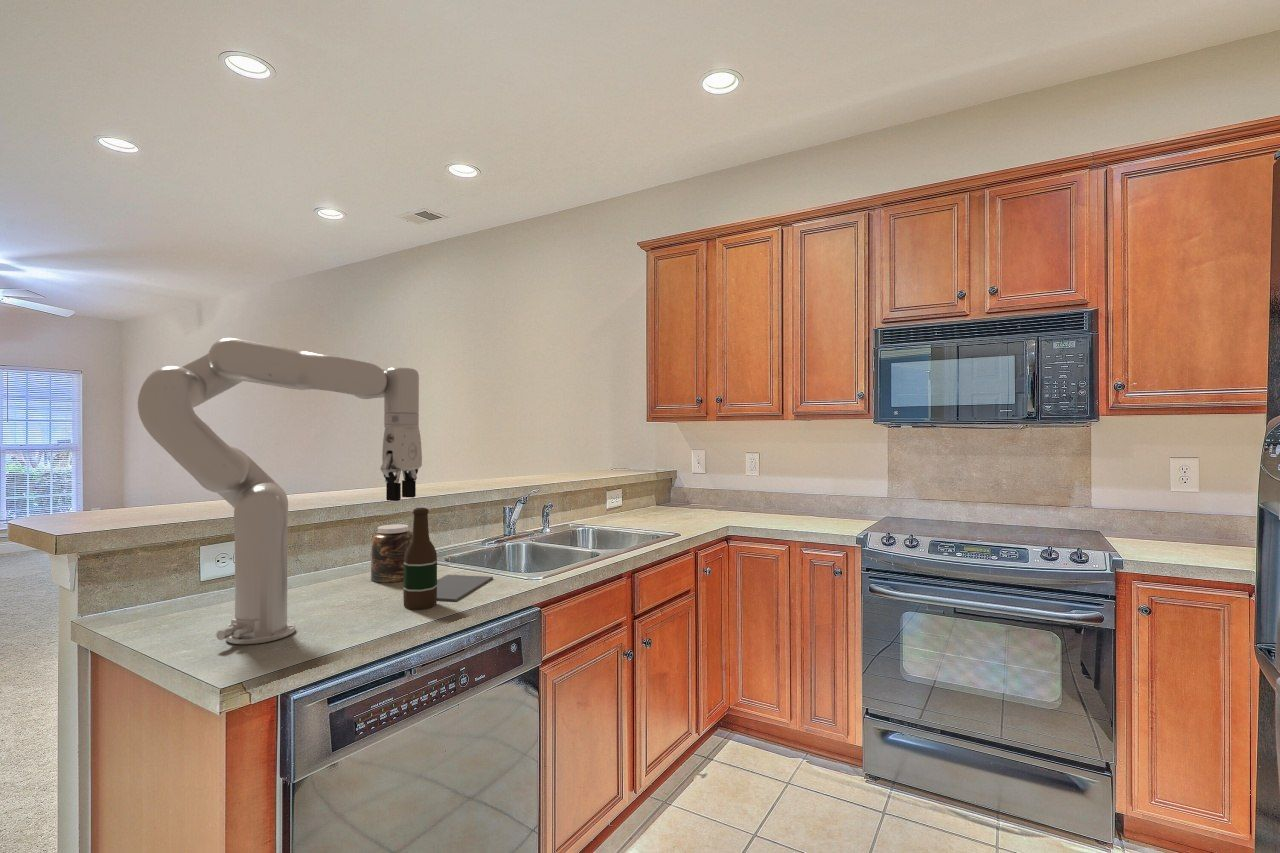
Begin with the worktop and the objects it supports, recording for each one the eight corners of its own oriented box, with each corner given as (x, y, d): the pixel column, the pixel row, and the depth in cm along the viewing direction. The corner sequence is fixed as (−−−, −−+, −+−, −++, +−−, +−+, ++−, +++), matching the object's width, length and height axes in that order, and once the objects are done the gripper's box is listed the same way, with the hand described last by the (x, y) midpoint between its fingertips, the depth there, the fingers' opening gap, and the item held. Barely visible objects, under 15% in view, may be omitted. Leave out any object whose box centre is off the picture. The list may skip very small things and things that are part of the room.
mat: (456, 601, 159) (456, 599, 159) (404, 598, 161) (404, 596, 161) (492, 578, 183) (492, 576, 183) (447, 576, 185) (447, 574, 185)
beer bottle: (443, 603, 157) (444, 507, 157) (420, 611, 150) (421, 511, 150) (419, 599, 160) (420, 505, 160) (396, 607, 153) (396, 509, 153)
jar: (376, 574, 188) (376, 523, 188) (417, 572, 190) (417, 522, 190) (366, 583, 177) (366, 530, 177) (410, 582, 179) (410, 529, 179)
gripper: (396, 421, 137) (396, 503, 137) (434, 421, 154) (434, 495, 154) (364, 420, 138) (364, 502, 138) (406, 421, 155) (405, 494, 155)
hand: (401, 498), depth 146 cm, fingers open, 5 cm apart
